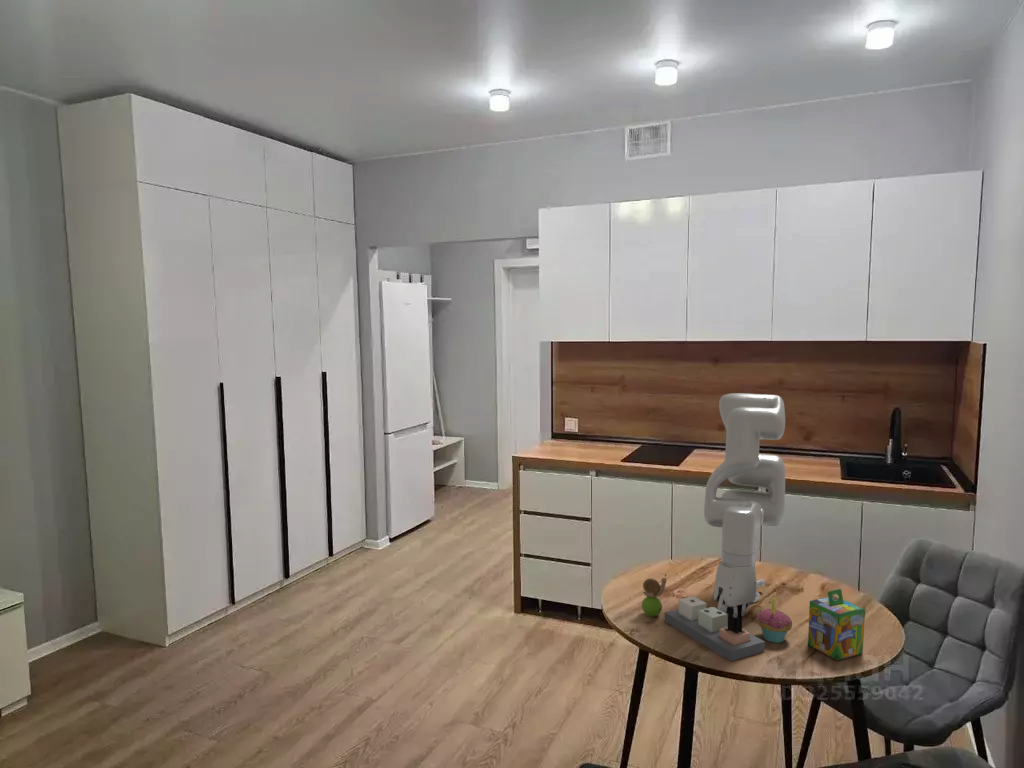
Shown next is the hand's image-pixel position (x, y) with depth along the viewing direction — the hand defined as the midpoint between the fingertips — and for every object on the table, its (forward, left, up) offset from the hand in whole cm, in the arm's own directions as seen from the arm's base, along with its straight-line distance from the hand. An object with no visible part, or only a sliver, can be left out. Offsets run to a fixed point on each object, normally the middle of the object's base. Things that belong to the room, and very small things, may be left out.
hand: (734, 630), depth 164 cm
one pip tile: (0, -15, -3) cm, 15 cm away
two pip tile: (0, -8, -3) cm, 8 cm away
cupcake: (-13, 0, -5) cm, 14 cm away
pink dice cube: (0, 0, -4) cm, 4 cm away
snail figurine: (+6, -24, -5) cm, 25 cm away
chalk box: (-22, +11, -5) cm, 25 cm away
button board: (0, -8, -5) cm, 9 cm away
